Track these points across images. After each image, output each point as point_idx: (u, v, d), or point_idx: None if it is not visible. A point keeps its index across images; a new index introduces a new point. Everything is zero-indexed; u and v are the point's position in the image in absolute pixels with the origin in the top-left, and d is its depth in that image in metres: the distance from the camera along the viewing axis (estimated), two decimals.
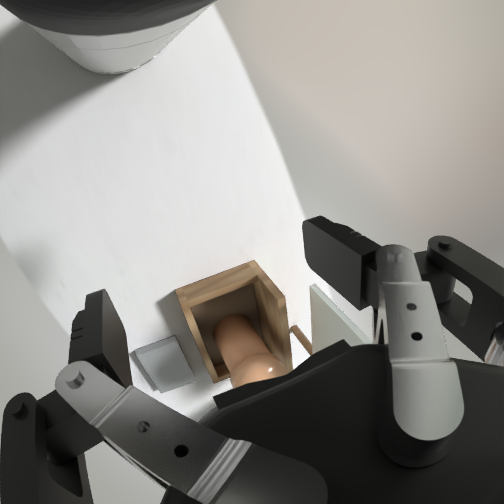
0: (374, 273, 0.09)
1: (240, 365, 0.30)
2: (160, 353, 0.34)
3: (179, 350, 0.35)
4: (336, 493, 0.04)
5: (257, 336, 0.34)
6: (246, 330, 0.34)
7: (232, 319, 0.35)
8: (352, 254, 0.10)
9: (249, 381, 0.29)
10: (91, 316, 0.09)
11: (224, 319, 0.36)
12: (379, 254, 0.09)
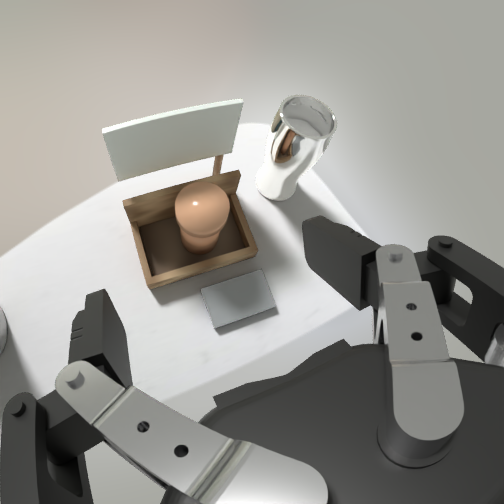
0: (374, 273, 0.09)
1: (183, 229, 0.33)
2: (214, 304, 0.38)
3: (213, 286, 0.39)
4: (336, 493, 0.04)
5: None
6: None
7: None
8: (352, 254, 0.10)
9: (188, 220, 0.31)
10: (91, 316, 0.09)
11: (183, 244, 0.40)
12: (379, 254, 0.09)
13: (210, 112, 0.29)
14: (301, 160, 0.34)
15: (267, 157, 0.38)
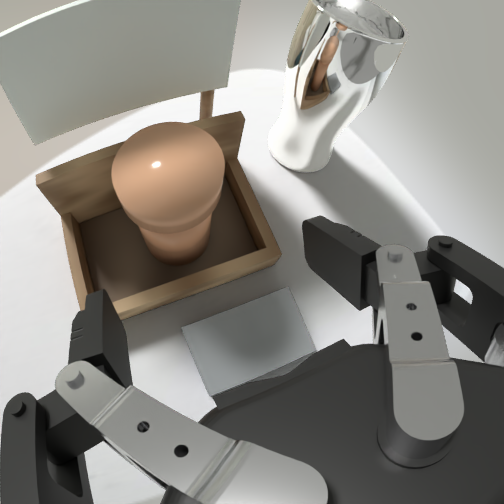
0: (374, 273, 0.09)
1: (131, 218, 0.15)
2: (206, 354, 0.20)
3: (203, 321, 0.21)
4: (336, 493, 0.04)
5: None
6: None
7: None
8: (352, 254, 0.10)
9: (137, 196, 0.14)
10: (91, 316, 0.09)
11: None
12: (379, 254, 0.09)
13: None
14: (354, 86, 0.17)
15: (289, 92, 0.20)
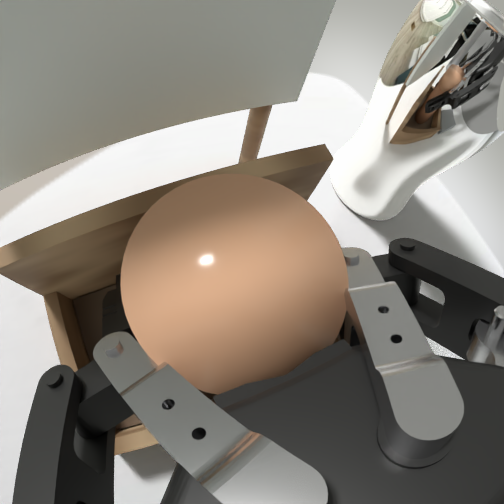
0: None
1: None
2: None
3: None
4: (336, 493, 0.04)
5: None
6: None
7: None
8: None
9: (183, 351, 0.07)
10: None
11: None
12: None
13: None
14: (491, 127, 0.10)
15: (388, 117, 0.13)
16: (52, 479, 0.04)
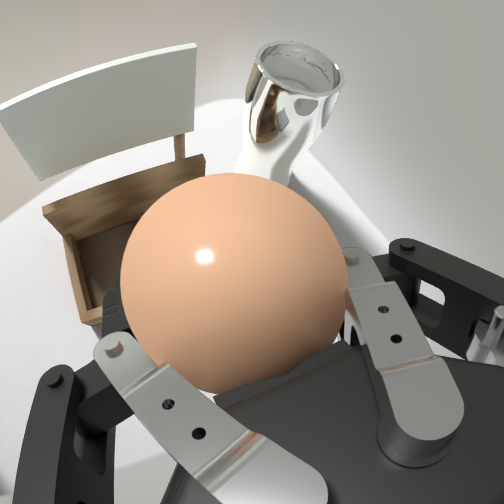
0: None
1: None
2: None
3: None
4: (336, 493, 0.04)
5: None
6: None
7: None
8: None
9: (183, 350, 0.07)
10: None
11: None
12: None
13: (146, 65, 0.17)
14: (293, 133, 0.22)
15: (244, 134, 0.26)
16: (52, 479, 0.04)
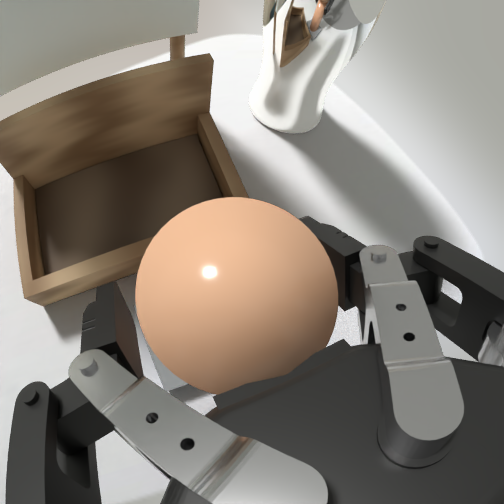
0: (358, 273, 0.09)
1: None
2: None
3: None
4: (336, 493, 0.04)
5: None
6: None
7: None
8: (336, 255, 0.10)
9: (193, 358, 0.08)
10: (103, 307, 0.09)
11: None
12: (362, 255, 0.09)
13: None
14: (339, 18, 0.13)
15: (267, 34, 0.16)
16: (41, 495, 0.04)
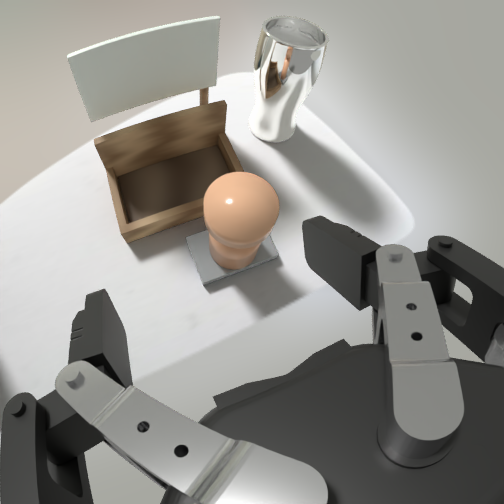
0: (374, 273, 0.09)
1: (216, 239, 0.24)
2: (202, 254, 0.31)
3: (200, 233, 0.32)
4: (336, 493, 0.04)
5: None
6: None
7: (209, 248, 0.31)
8: (352, 254, 0.10)
9: (224, 225, 0.23)
10: (91, 316, 0.09)
11: (213, 258, 0.31)
12: (379, 254, 0.09)
13: (184, 30, 0.23)
14: (293, 79, 0.28)
15: (256, 86, 0.31)
16: None
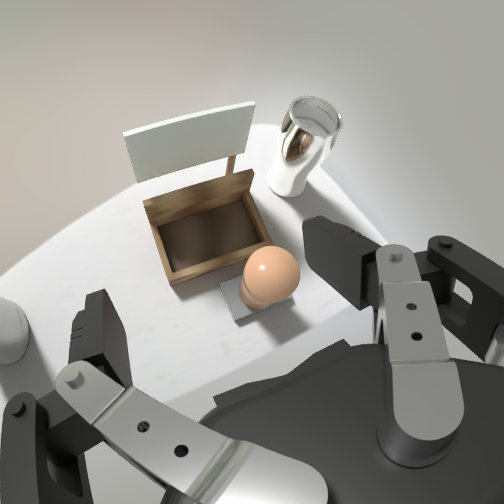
0: (374, 273, 0.09)
1: (253, 296, 0.33)
2: (233, 297, 0.40)
3: (231, 279, 0.40)
4: (336, 493, 0.04)
5: None
6: (241, 284, 0.37)
7: (240, 294, 0.39)
8: (352, 254, 0.10)
9: (261, 290, 0.31)
10: (91, 316, 0.09)
11: (242, 300, 0.40)
12: (379, 254, 0.09)
13: (225, 114, 0.31)
14: (311, 157, 0.36)
15: (278, 156, 0.40)
16: None
